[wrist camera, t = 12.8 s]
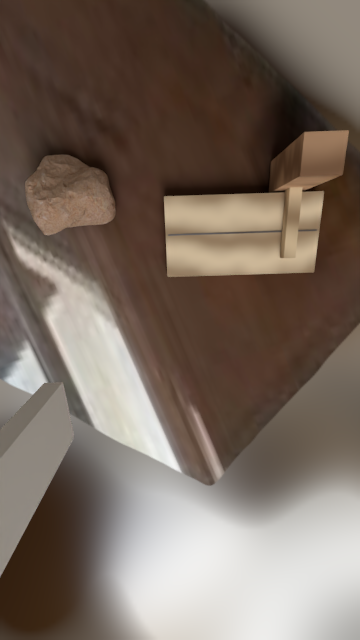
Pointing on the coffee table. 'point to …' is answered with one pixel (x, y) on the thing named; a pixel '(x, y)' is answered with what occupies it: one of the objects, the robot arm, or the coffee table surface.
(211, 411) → the coffee table surface
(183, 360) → the coffee table surface
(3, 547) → the robot arm
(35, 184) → the stone
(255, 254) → the board
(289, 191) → the block
